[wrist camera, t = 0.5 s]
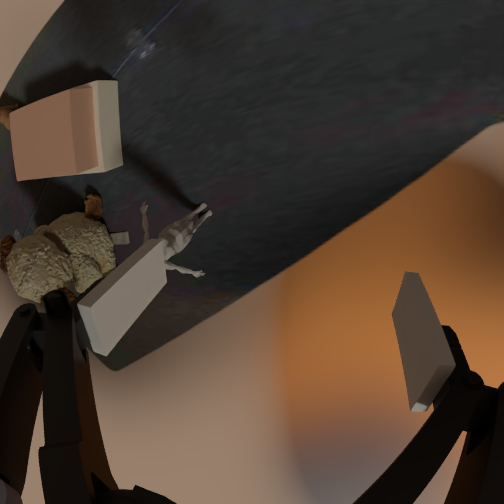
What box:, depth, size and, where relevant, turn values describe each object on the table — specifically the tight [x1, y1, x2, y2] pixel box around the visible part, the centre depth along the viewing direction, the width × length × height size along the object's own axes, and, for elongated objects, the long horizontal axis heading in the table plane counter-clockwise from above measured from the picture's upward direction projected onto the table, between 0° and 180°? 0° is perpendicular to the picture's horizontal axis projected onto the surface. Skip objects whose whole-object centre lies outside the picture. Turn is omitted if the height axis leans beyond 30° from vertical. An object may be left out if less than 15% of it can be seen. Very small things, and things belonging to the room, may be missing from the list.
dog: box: [0, 194, 130, 311], centre depth 44 cm, size 23×19×20 cm
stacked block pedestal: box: [9, 80, 123, 181], centre depth 39 cm, size 14×18×10 cm
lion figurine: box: [0, 103, 18, 130], centre depth 41 cm, size 15×5×9 cm, turn 75°
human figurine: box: [140, 202, 212, 277], centre depth 38 cm, size 12×4×18 cm, turn 39°
